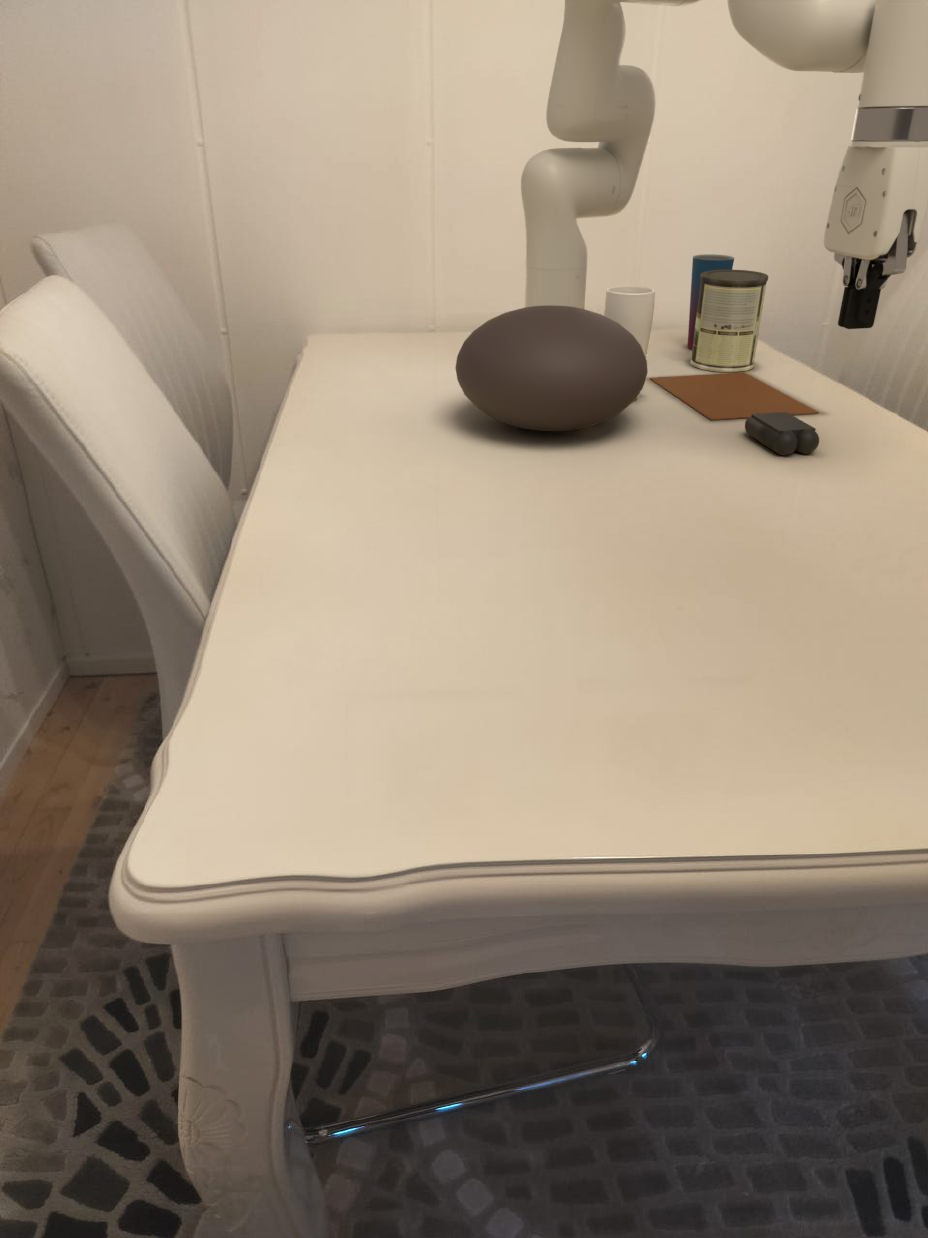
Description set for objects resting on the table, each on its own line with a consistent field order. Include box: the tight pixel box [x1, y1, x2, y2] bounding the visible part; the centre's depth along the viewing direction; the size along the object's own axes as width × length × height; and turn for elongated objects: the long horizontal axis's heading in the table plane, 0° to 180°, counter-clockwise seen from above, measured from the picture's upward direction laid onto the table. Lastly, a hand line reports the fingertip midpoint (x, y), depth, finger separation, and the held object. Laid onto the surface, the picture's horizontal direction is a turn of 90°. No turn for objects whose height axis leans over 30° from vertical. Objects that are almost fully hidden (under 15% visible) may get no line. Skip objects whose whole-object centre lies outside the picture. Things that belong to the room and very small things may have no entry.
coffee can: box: [690, 269, 769, 373], centre depth 143 cm, size 10×10×14 cm
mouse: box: [744, 412, 820, 456], centre depth 110 cm, size 6×10×3 cm, turn 11°
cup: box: [686, 253, 735, 351], centre depth 153 cm, size 7×7×15 cm
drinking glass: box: [603, 285, 656, 401], centre depth 126 cm, size 7×7×15 cm
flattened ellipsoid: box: [455, 305, 648, 432], centre depth 115 cm, size 25×25×15 cm
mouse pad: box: [649, 372, 819, 421], centre depth 130 cm, size 16×22×1 cm
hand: (855, 326), depth 94 cm, fingers closed
